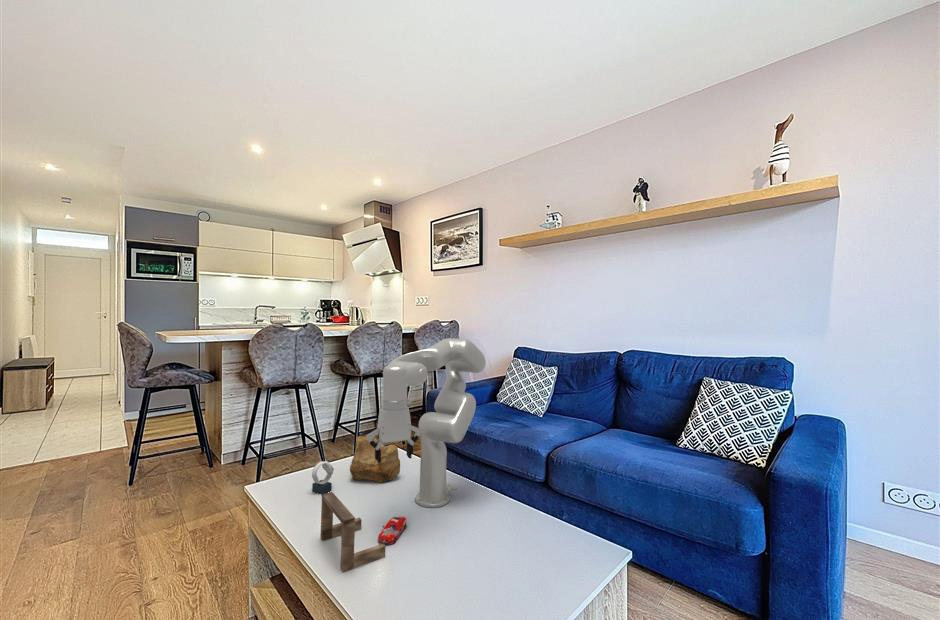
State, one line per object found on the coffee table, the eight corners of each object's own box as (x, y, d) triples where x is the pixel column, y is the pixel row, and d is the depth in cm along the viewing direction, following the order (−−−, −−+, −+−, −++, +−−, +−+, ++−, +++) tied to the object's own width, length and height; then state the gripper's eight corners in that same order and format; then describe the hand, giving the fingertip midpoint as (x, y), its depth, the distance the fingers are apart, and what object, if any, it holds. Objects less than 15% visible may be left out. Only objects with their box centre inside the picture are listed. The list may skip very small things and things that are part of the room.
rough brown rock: (334, 478, 165) (334, 443, 164) (366, 463, 179) (365, 430, 178) (373, 495, 152) (372, 457, 151) (404, 478, 166) (403, 442, 165)
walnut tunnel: (359, 527, 126) (360, 484, 126) (385, 556, 111) (386, 508, 111) (320, 538, 119) (321, 494, 119) (342, 572, 103) (343, 520, 104)
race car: (391, 548, 115) (392, 534, 115) (374, 545, 117) (375, 531, 117) (409, 525, 128) (410, 513, 128) (394, 523, 129) (394, 510, 129)
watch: (335, 489, 153) (336, 460, 153) (317, 497, 146) (318, 466, 146) (325, 486, 156) (326, 457, 156) (307, 493, 149) (308, 463, 149)
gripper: (417, 400, 133) (417, 451, 132) (364, 404, 125) (363, 459, 125) (424, 405, 126) (424, 459, 126) (369, 410, 119) (368, 467, 119)
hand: (394, 459), depth 125 cm, fingers open, 9 cm apart
